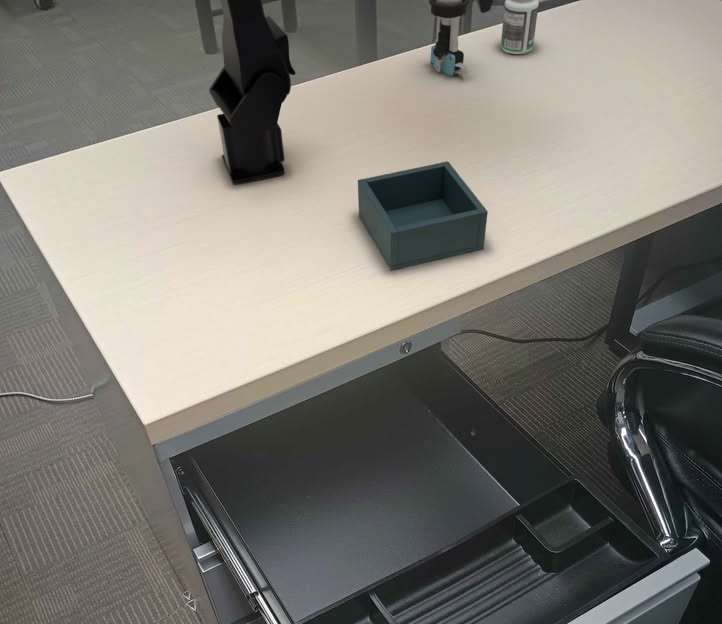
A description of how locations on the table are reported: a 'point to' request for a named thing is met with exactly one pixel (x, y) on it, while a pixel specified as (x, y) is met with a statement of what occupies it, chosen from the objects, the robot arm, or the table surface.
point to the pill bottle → (519, 26)
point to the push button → (447, 36)
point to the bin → (421, 215)
